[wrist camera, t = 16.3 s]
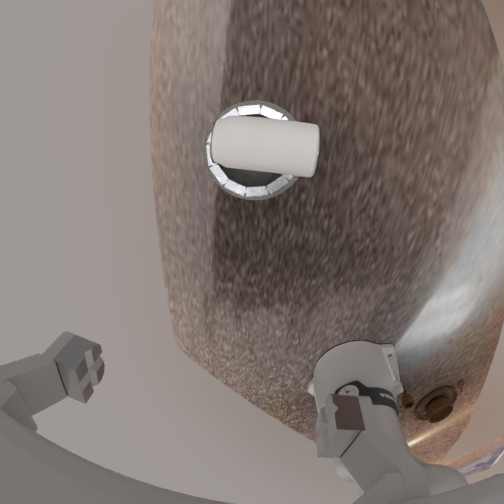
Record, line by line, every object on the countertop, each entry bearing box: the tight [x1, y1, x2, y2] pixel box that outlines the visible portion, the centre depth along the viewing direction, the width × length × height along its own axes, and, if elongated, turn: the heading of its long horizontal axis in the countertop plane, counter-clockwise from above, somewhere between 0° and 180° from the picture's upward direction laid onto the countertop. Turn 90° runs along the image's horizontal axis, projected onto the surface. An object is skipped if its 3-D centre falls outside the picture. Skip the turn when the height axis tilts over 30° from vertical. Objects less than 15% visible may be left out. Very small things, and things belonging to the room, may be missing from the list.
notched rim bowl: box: [204, 100, 299, 200], centre depth 38 cm, size 14×14×3 cm
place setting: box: [400, 380, 465, 423], centre depth 52 cm, size 18×20×6 cm
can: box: [210, 116, 321, 177], centre depth 33 cm, size 6×6×12 cm
